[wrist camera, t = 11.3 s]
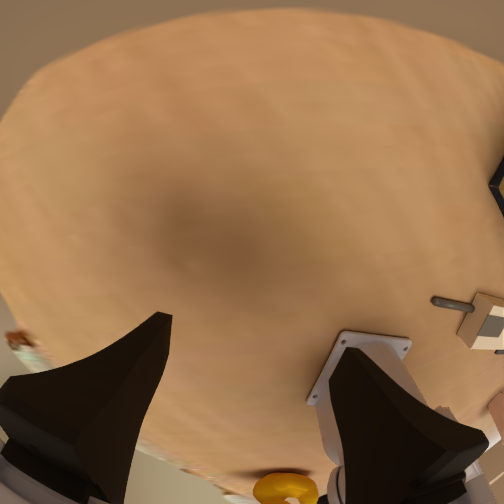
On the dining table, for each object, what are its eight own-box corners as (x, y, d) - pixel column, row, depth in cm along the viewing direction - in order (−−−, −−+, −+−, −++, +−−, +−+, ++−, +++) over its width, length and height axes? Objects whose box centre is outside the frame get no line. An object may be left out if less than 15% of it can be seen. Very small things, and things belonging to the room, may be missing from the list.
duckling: (238, 479, 32) (235, 531, 23) (241, 466, 30) (238, 524, 21) (310, 479, 32) (316, 529, 23) (319, 465, 31) (327, 521, 21)
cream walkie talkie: (495, 337, 23) (509, 351, 20) (416, 329, 23) (432, 349, 19) (512, 302, 22) (528, 314, 19) (438, 282, 21) (459, 298, 18)
